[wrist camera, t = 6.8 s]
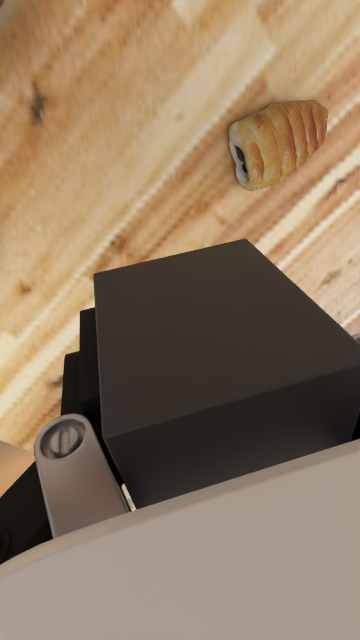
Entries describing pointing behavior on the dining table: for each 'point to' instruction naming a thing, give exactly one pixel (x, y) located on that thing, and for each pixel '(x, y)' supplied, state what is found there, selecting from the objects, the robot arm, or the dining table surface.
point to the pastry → (276, 141)
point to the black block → (216, 370)
